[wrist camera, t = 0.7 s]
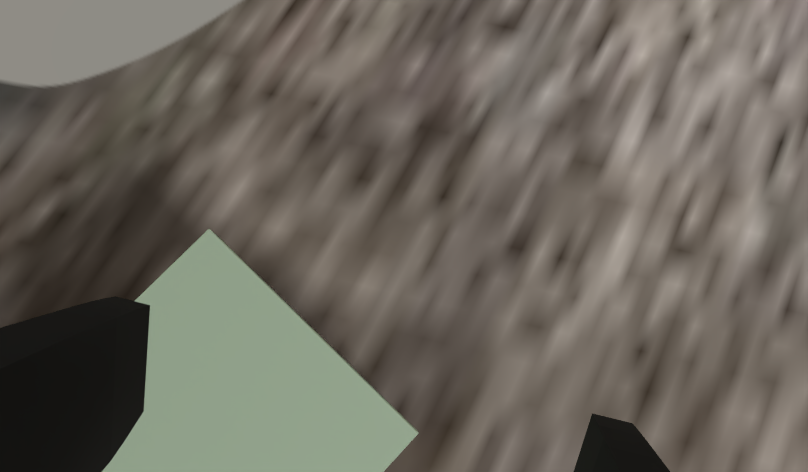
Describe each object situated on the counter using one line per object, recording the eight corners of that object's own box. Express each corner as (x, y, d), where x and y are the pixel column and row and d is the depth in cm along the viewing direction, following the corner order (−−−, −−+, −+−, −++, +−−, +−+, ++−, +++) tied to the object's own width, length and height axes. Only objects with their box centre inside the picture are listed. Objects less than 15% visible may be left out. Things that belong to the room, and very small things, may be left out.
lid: (145, 729, 25) (129, 750, 24) (-54, 502, 27) (-80, 509, 26) (417, 430, 28) (418, 433, 26) (218, 236, 29) (208, 228, 28)
